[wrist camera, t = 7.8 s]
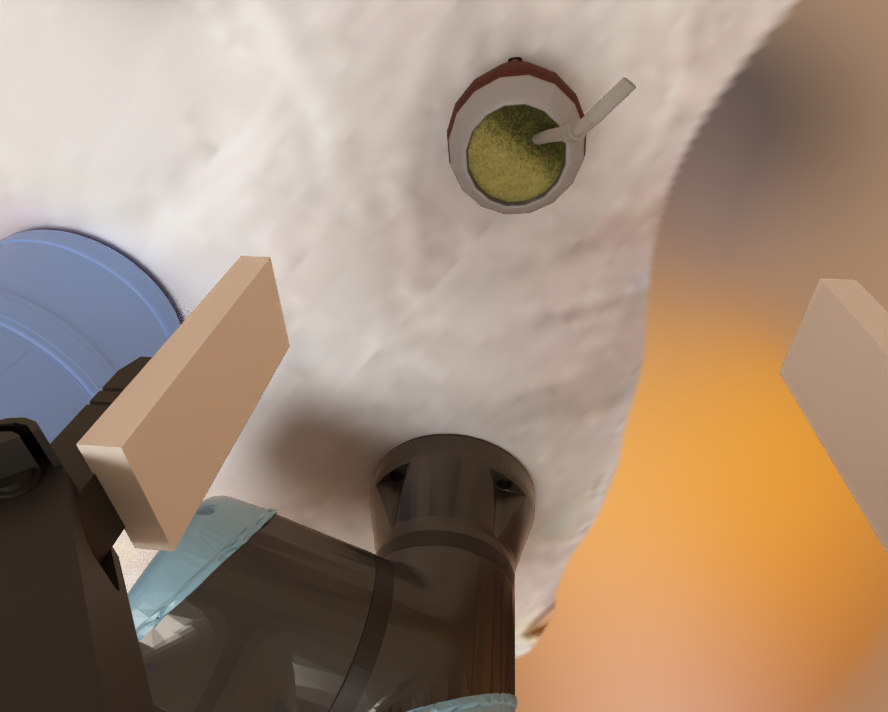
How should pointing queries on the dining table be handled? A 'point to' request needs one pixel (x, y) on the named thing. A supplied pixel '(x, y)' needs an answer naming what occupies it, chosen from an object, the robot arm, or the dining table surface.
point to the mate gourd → (521, 136)
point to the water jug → (71, 323)
